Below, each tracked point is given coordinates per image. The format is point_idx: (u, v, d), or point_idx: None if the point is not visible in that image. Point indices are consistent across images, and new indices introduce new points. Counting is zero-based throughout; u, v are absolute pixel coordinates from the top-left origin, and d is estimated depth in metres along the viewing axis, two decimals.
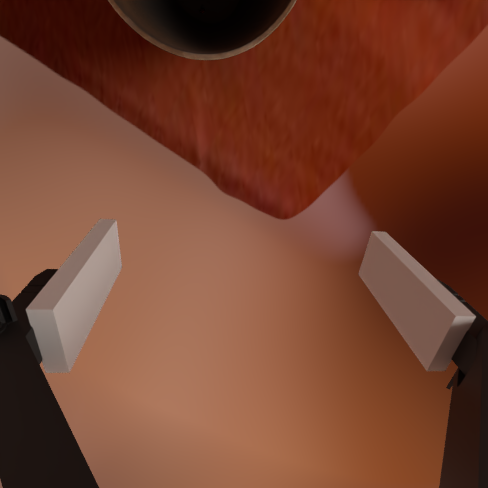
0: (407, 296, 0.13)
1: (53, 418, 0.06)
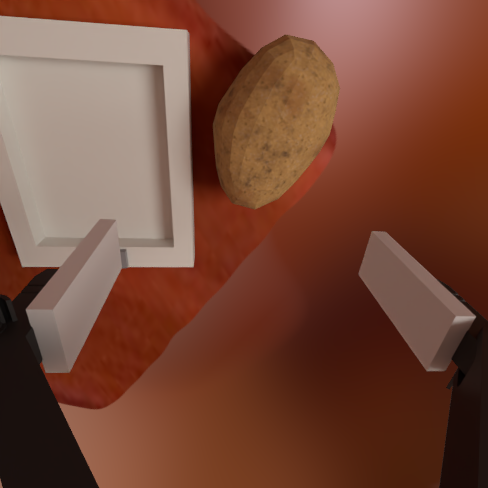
0: (407, 296, 0.13)
1: (53, 418, 0.06)
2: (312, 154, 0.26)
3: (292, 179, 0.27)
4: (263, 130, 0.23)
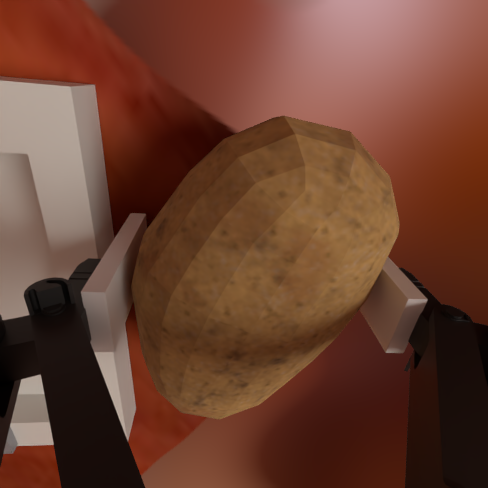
0: None
1: (100, 396, 0.07)
2: (332, 341, 0.13)
3: None
4: (227, 330, 0.10)
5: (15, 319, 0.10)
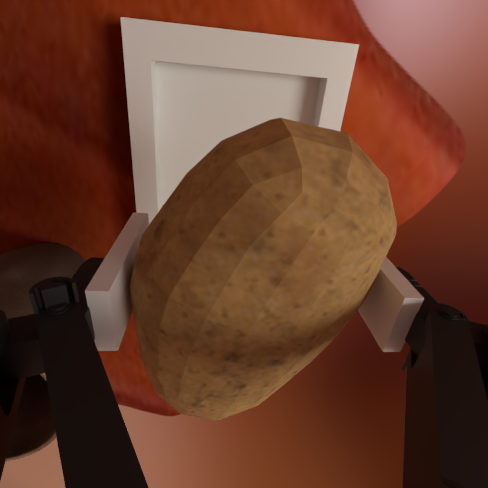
0: None
1: (104, 395, 0.07)
2: (330, 342, 0.13)
3: (289, 379, 0.13)
4: (225, 332, 0.10)
5: (20, 318, 0.10)
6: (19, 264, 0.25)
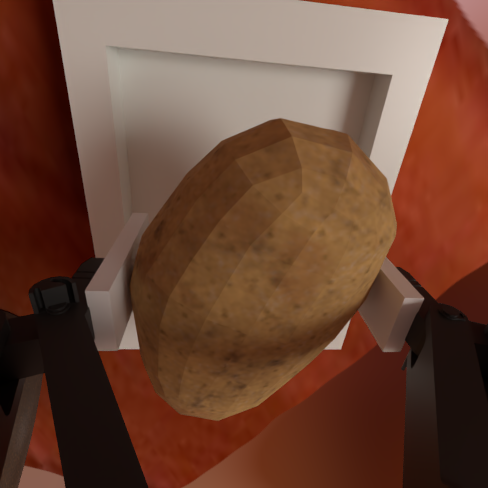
0: None
1: (104, 395, 0.07)
2: (330, 342, 0.13)
3: (289, 379, 0.13)
4: (225, 332, 0.10)
5: (20, 318, 0.10)
6: None
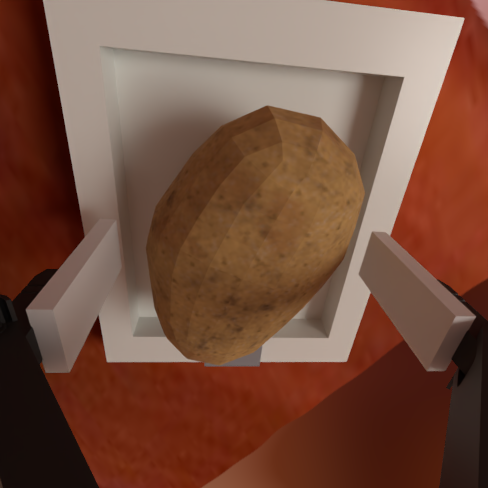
0: (407, 296, 0.13)
1: (53, 419, 0.06)
2: (313, 295, 0.15)
3: None
4: (224, 277, 0.12)
5: None
6: None
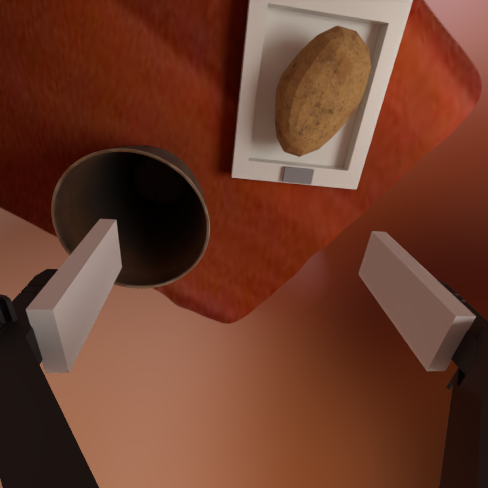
0: (407, 296, 0.13)
1: (53, 419, 0.06)
2: (348, 114, 0.35)
3: (331, 133, 0.36)
4: (317, 92, 0.33)
5: None
6: None
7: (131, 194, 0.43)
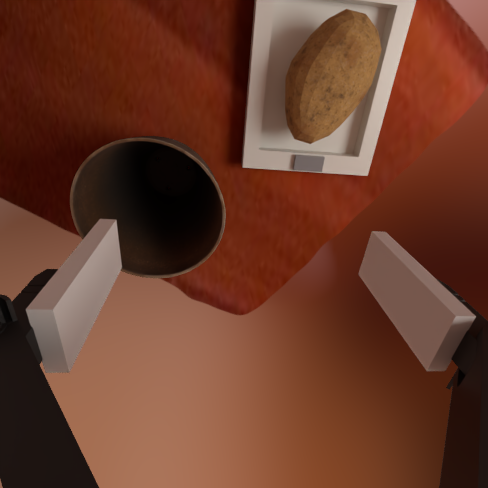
0: (407, 296, 0.13)
1: (53, 418, 0.06)
2: (358, 98, 0.35)
3: (342, 118, 0.36)
4: (328, 76, 0.33)
5: None
6: None
7: (143, 187, 0.43)
